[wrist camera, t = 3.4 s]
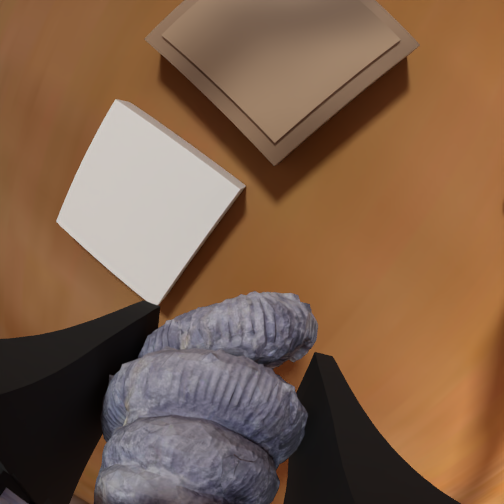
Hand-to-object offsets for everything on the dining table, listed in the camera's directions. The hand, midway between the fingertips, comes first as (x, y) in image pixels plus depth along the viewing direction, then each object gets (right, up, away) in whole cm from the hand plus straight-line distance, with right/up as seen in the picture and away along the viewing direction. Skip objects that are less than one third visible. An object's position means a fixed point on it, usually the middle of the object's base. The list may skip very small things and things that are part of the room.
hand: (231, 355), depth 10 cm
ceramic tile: (-5, +6, +7) cm, 10 cm away
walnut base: (+2, +14, +3) cm, 14 cm away
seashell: (+1, +1, +3) cm, 3 cm away
